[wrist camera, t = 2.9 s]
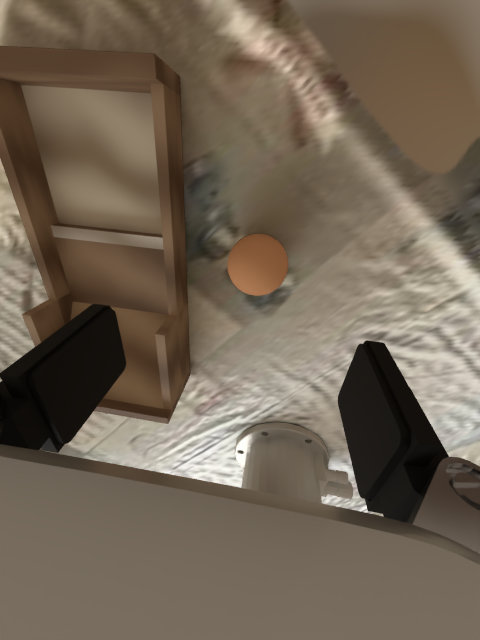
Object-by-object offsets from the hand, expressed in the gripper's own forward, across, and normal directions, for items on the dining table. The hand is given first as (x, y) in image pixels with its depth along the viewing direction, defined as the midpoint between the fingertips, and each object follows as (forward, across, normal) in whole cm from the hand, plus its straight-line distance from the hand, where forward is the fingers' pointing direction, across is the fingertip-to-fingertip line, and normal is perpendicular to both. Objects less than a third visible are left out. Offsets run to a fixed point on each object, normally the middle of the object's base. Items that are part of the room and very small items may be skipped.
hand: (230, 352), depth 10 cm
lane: (+14, +13, +3) cm, 19 cm away
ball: (+12, 0, +1) cm, 12 cm away
